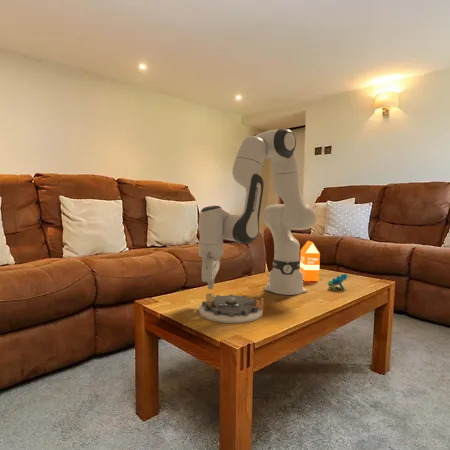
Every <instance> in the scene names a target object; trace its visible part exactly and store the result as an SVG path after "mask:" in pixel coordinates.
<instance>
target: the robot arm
mask: <svg viewBox="0 0 450 450" xmlns="http://www.w3.org/2000/svg"><path fill="white" fill-rule="evenodd" d="M296 144H297V139H296V136H295V134H294V132H293V131H292V130H291V129H289V128H288V129H287V128H279V129H270V130H267V131H264V132H263V131H262V132H260V133H255V134H253V135H249V136H247V137H245V138H244V140H243V141H242V143H241V145H240V146H239V149H238V152H237V154H236V156H235V159H234V163H233V166H232V172H231V173H232V176H233V180H235V182H237V184H239V185H240V186H242V187H243V188H244V189H245V192H246V197H245V202H244V207H243V212H242V213H241V214H240V215H238V214H231V213H229V212H227V211H226V210H224V208H222V207H221V206H219V205H210V206H209V205H208V206H206V207H203V208H202V209H201V210H200V213H199V217H198V218H199V219H198V233H199V239H198V256H199V257H200V258H201V259H202V261H201V282H203V283H207V289H208V290H213V288H214V287H215V278H216V275H217V274H218V271H219V269H220V266H221V265H220V264H221V257H223V255H224V240H228V241H230V242H231V241H232V242H237V243H239V244H240V243H241V244H243V245H248V244H251V243H253V242H254V241H255V240H256V238H258V235H259V232H260V215H261V209H262V201H263V194H264V179H263V177H262V171H263V170H262V169H263V166H264V162H265V160H266V159H271V162H272V164H271V169H272V170H271V171H272V184H273V185H272V186H273V191H274V193H275V195H277V196H279V197H280V199H281V200H282V202H283V203H275V204H271V205H267V206H265V208H264V210H263V212H262V222H263V223H264V224H265V225H266V227H267V228H268V229H269V231H270V233H271V234H272V235H271V236H272V239H273V244H274V245H273V246H274V248H273V249H274V250H273V251H274V252H273V253H274V257H273V259H272V267H273V268H272V269H271V270H270V271H269V273H268V276H267V278H268V279H267V280H268V282H267V284H265V286H264V290H265V291H267V292H271V293H273V294H277V295H278V294H279V295H287V296H289V295H290V296H291V295H292V296H294V295H300V294H302V293H303V294H304V293H307V292H308V289H307V288H306V287H304V281H303V273H302V272H301V271H300V253H301V248H300V247H301V246H300V242H299V240H298V239H296V238H295V237H294V236H293V234H292V231H291V230H295V231H303V230H309V229H311V228H313V226H314V225H315V223H316V220H317V214H316V212H315V209H314V208H313V207H312V206H311V205H309V203H307V201H306V200H305V199H304V196H303V195H302V191H301V188H300V187H301V185H300V179H299V176H300V175H299V166H298V160H297V155H296V152H295V150H296V147H297V146H296Z"/></svg>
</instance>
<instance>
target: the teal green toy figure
mask: <svg viewBox="0 0 450 450" xmlns="http://www.w3.org/2000/svg"><path fill="white" fill-rule="evenodd" d="M348 277H349V276H348V274H347V273H342V274H340V275H337V276H336V278H335V277H333V278H332V280H329V281H327V285H328V287H329V286H331V287H330V288H332V289H333V290H334V289H336V287H335V286H340V288H341V289H342V288H343V289H344V290H345V287H344V286H343V284H342V283H343V282H344V281H345V280H347V278H348Z"/></svg>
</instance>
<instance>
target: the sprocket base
mask: <svg viewBox="0 0 450 450" xmlns="http://www.w3.org/2000/svg"><path fill="white" fill-rule="evenodd" d="M264 299H265V298H264V297H261V298H260V308H258V312H257V313H255V312H251V313H249V315H247V316H244V315H233V317H229V315H222V314H219V315H214V312H211V311H205V310H204V307H202V303H200V305H199V307H198V313H199V315H200V316H201V317H202V318H204V319H206V320H209V321H213V322H217V323H223V324H242V323H243V324H245V323H251V322H254V321H257V320H259V319H260V318H262V317H263V315H264V313H263V312H264Z"/></svg>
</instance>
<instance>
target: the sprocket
mask: <svg viewBox="0 0 450 450" xmlns="http://www.w3.org/2000/svg"><path fill="white" fill-rule="evenodd" d="M201 304H202V307H204V310H205V311H211V312H214V315H219V314H222V315H229V317H233V315H244V316H247V315H249V313H251V312H255V313H257V312H258V308H260V305H261V299H260V300H259V299H256V298H249V297H247V296H246V295H234V294H228V295H220V294H216V295H215V293H210V292H209V293H205V300H204V301H203V300H202V302H201Z"/></svg>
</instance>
